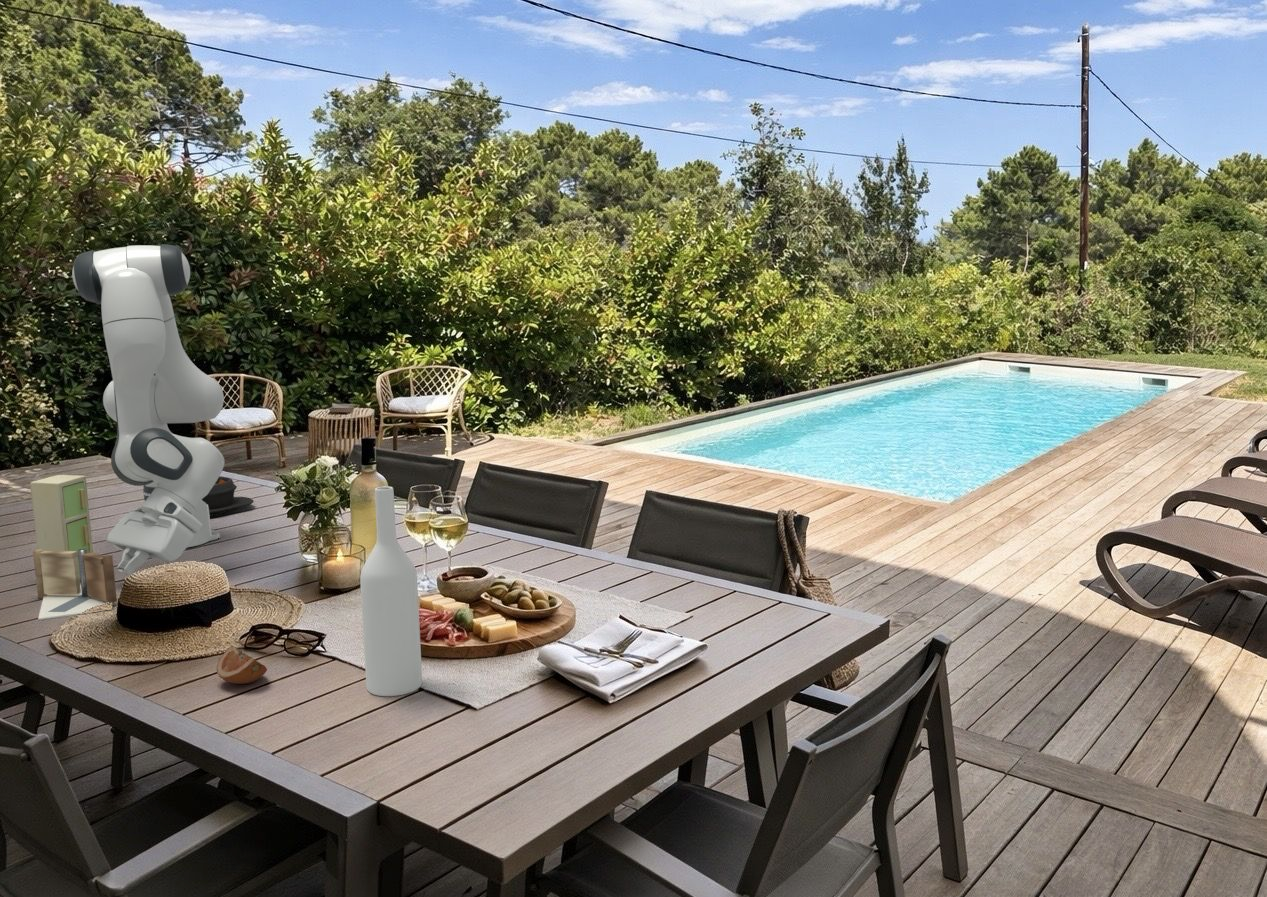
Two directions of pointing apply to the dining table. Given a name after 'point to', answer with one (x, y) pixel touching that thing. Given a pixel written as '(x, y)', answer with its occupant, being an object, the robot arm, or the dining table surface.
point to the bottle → (390, 609)
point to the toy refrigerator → (61, 513)
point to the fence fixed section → (60, 572)
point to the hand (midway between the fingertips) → (123, 572)
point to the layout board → (66, 605)
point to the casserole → (224, 497)
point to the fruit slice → (239, 667)
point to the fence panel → (100, 576)
